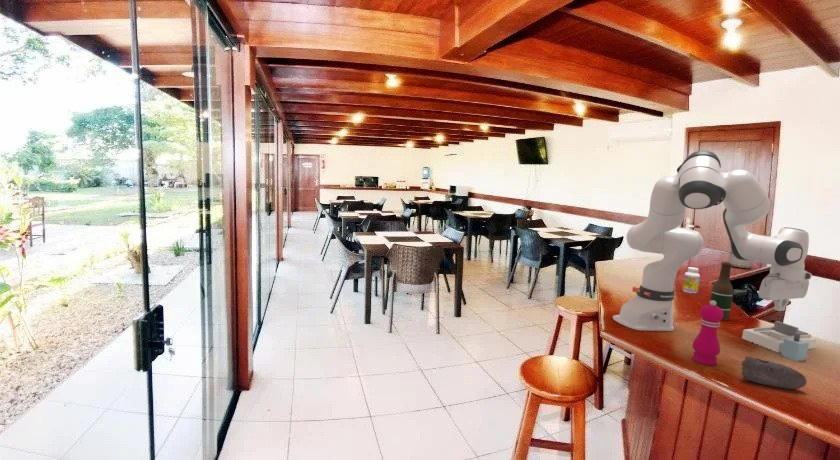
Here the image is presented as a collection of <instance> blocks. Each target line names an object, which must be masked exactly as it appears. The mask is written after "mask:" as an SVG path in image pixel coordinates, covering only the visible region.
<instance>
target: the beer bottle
mask: <svg viewBox="0 0 840 460" xmlns="http://www.w3.org/2000/svg"><path fill="white" fill-rule="evenodd" d="M720 265H721V268H720V272H719V275H718V279H717V280H716V281H715V282H714V283H713V285H712V287H711V292H710V300H709V302H710V301H712V300H714V301H716V303H717V304H716V305H715V306H718V307H719V308H721V309H722V311H723V318H722V319H721V320H720V321H729V320H730V316H731V309H732V304H733V303H732V302H733V297H734V289H733V288H734V287H733V285H732V283H731V281H730V280H731V268H732V267H733V266H732V264H731V263H729V261H721V264H720ZM708 305H710V303H709V304H708Z"/></svg>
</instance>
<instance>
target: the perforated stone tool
mask: <svg viewBox="0 0 840 460" xmlns="http://www.w3.org/2000/svg"><path fill="white" fill-rule="evenodd" d="M741 366H742V367H741V374H742V377H743V378H744V380H746V381H749V382H752V383H755V384H759V385H763V386H769V387H774V388H780V389H787V390H798V389H801V388H804V387H805V386H806V384H807V377H806V376H804V374H802V372H799V371H798V370H796V369H794V368H792V367H789V366H787V365H784V364H782V363H778V362H774V361H770V360H765V359H762V358H758V357H752V356H745V358H744V360H742V361H741Z"/></svg>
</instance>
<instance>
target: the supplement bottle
mask: <svg viewBox="0 0 840 460" xmlns="http://www.w3.org/2000/svg"><path fill="white" fill-rule="evenodd" d="M699 270H700V269H699V268H697V267H692V266H688V267H687V271H686V272H685V273H684V278H683V283H682V291H683V292H684V293H687V294H692V293H693V294H698V293H699V292H698V291H699V284H700V279H701V275H700V274H699Z"/></svg>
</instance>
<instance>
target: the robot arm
mask: <svg viewBox="0 0 840 460" xmlns="http://www.w3.org/2000/svg"><path fill="white" fill-rule="evenodd" d="M721 168H722V164H721V159H719V157H718V155H717V154H715V152H712V151H710V150H697V151H694V152H692V153H690V154H689V155H688V156H687V157H686V158H685V159H684V160H683V162H682V163H681V164H680V165H679V166H678V167H677V169H676V172H677V173H676V175H674V176H666V177H665V176H664V177H662V178H660V179H659V180H657V181H656V182H655V184H654V186H653V188H652V190H651V195H650V201H649V210H648V214H647V215H648V216H647V217H646V218H645V219H644V220H642V222H640V223H637V224H635V225H632V226H631V227H630V228H629V230H628V231H627V233H626V241H627V245H628V246H629V248H631V249H632V250H635V251H638V252H639V251H640V252H644V253H652V254H660V255H663V258H661V259H660V260H656V261H653V262H649V263H648V264H646V265H645V266H644V268H643V271H642V272H643V273H642V278H641V285H639V287H636V286H633V287H632V288H631V291H632V292H633V293H636V294H635V295H634V296H633V297H632V298H630V299H628V301H625V303H623V304H622V305H621V307H620V311H619V314H615V315H612V319H613V320H614V321H615V322H616V323H618V324H620V325H623V326H625V327H626V328H629V329H632V330H636V331H646V332H647V331H648V332H649V331H654V332H655V331H657V332H661V331H662V332H664V331H665V332H668V331H669V332H674V331H675V327H674V308H673V307H674V306H673V301H674V300H675V299H674V297H675V290H674V288H675V283H676V278H677V274H678V271H679V269H680V268H681V267H682V265H683V264H684V263H685V262H686V261H688V260H689V259H691V258H693V257H695V256H697V255H698V254H700V253H701V251H702V249H704V248H703V247H704V244H705V243H704V238H703V235H702V234H701V233H700V232H699V231H697V230H694V229H690V228H685V227H680V226H681V224H682V223H683V221H684V217H685V211H686V208H687V209H691V210H704V209H708V208H711V207H715V206H718V205H720V204H721V203H723V205H724V207H725V208H724V210H723V212H722V220H723V223H724V227H725V230H726V234H727V236H728V238H729V239H728V240H729V241H730V251H732V253H733V254H734V256H735V257H736V258H738V259H741V260H748V261H752V262H756V263H760V264H766V265H770V269H769V273H768V274H767V275H766V276H765V277H764V278H763V279H762V281H761V283H760V286H759V289H758V294H757V296H758V298H759V299H762V300H766V301H773V304H774V307H773V310H774V311H777V312H781V311H782V312H784V311H786V307H787V306H788V304H789V303H790V300H791V299H792V300H794V299H804V298H805V297H806V296H807V294H808V289H809V285H810V280H811V279H812V277H813V274H812V273H811V272H809V271H807V270H806V269H805V267H806V265H805V260H806V258H807V256H808V252H809V243H810V238H809V237H810V235H809V232H808V231H806V230H804V229H801V228H794V227H780V229H779V231H778V234H777V235H774V236H768V235H763V234H756V233H752V232H750V231H748V230H747V226H746V225H752V224H755V223H758V222H759V221H760V220H763V219H764V218H765V217H766V216H767V215H768V214H769V212H770V210H771V201H770V198H769V196H768V194H767V192H766V190H765V188H764V187H763V186H762V184H761V183H760V182H759V180H758V179H757V178H756V177H755V176H754V175H753V174H752V173H751V172H749V171H748V170H745V169H733V170H729V171H727V172H722V171H721Z"/></svg>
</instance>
